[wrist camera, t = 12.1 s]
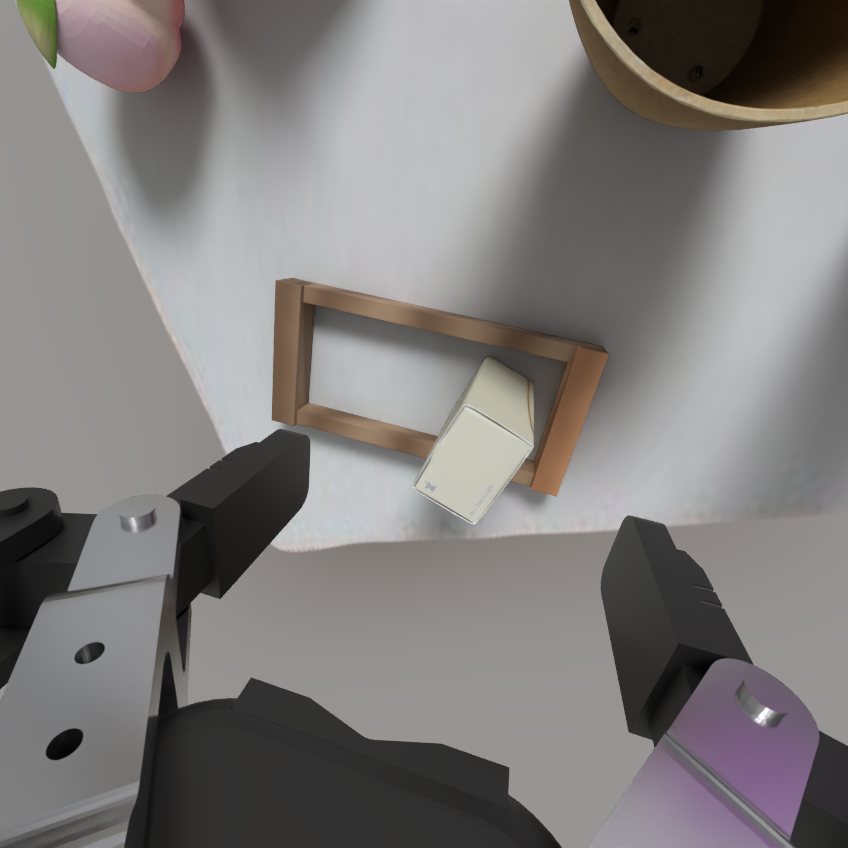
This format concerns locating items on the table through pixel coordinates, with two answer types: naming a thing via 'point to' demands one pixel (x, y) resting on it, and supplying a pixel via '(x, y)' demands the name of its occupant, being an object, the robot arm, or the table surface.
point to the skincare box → (480, 443)
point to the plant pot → (720, 59)
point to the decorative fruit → (109, 38)
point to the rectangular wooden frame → (298, 321)
